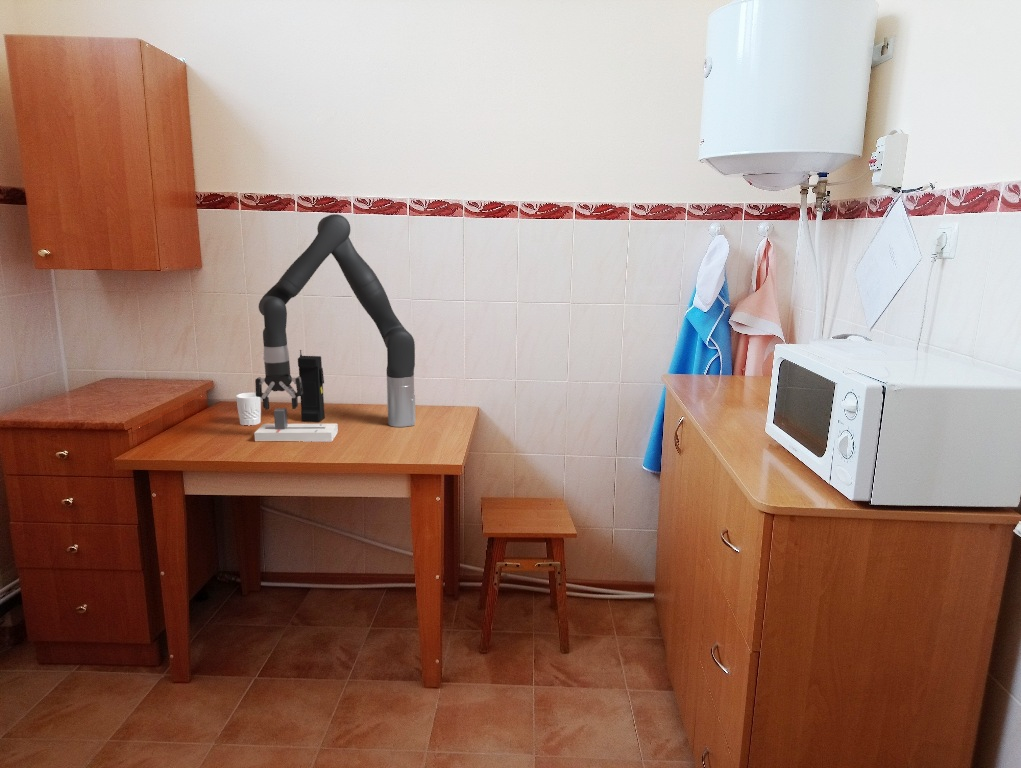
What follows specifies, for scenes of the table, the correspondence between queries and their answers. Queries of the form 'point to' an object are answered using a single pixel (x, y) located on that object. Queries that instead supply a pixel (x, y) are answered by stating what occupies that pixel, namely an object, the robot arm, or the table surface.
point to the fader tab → (280, 418)
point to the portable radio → (311, 388)
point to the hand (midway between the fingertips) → (280, 409)
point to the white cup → (249, 408)
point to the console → (297, 432)
